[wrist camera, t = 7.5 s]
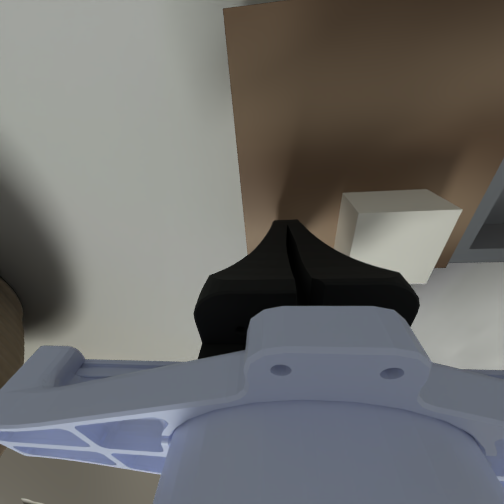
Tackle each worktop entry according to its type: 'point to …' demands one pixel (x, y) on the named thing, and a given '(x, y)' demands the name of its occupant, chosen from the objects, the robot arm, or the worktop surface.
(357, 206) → the cream block
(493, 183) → the charcoal tray
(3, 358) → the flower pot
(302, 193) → the walnut board
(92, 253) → the worktop surface
